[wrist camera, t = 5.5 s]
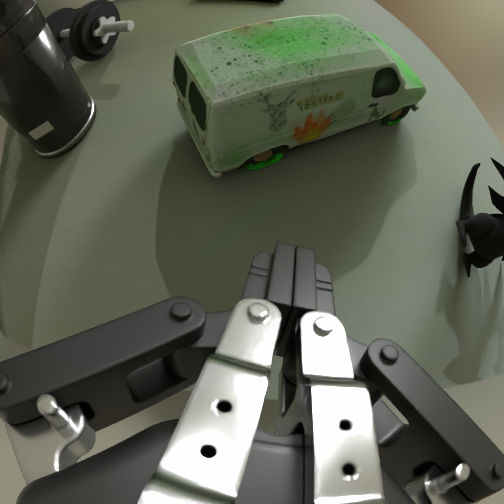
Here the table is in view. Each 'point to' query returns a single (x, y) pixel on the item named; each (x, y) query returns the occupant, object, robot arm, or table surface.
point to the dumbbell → (88, 29)
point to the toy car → (286, 87)
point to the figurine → (481, 225)
